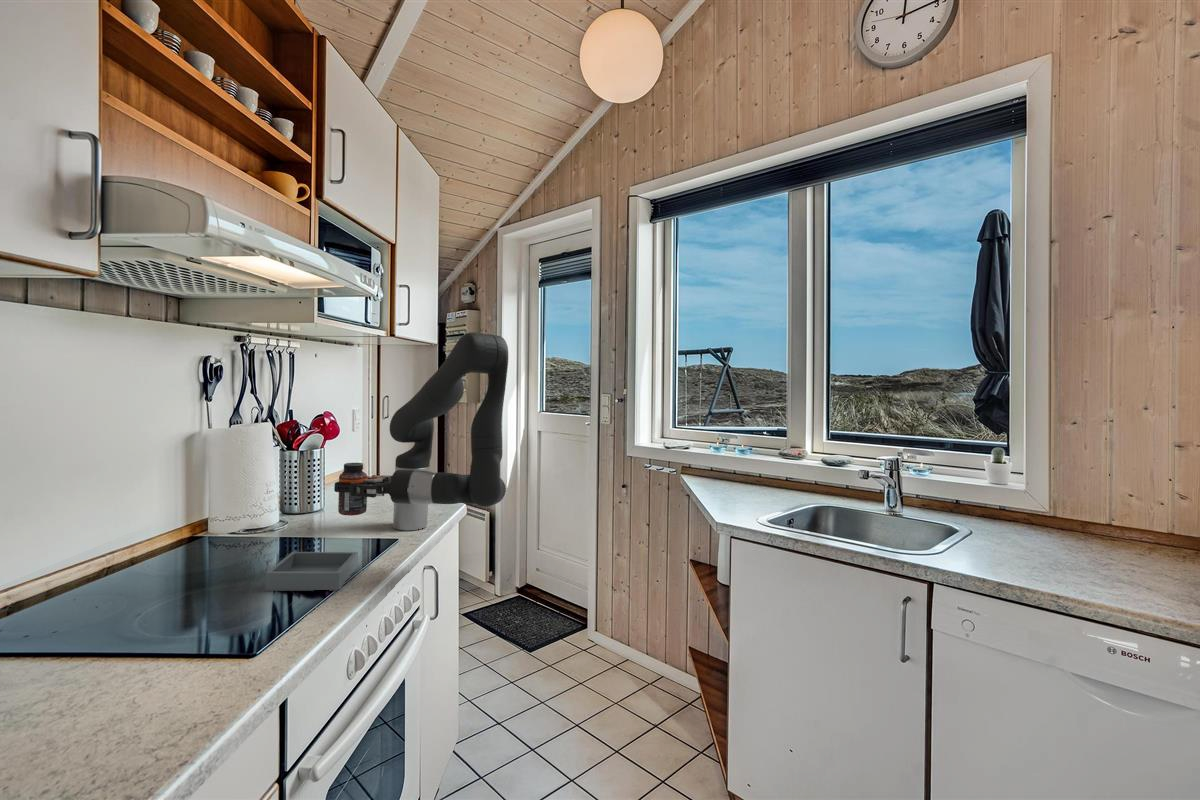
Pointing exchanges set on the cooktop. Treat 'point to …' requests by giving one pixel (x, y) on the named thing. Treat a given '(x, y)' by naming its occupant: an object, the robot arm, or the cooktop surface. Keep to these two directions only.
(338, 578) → the tray
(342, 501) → the supplement bottle
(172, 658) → the cooktop surface
